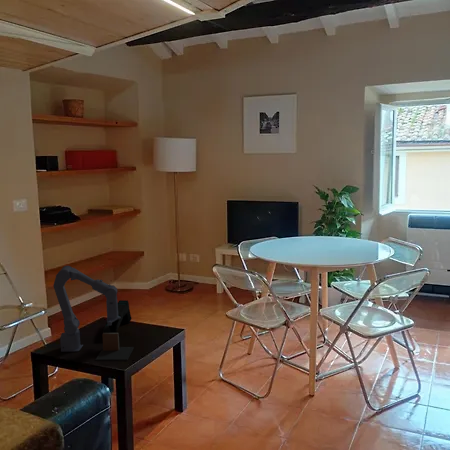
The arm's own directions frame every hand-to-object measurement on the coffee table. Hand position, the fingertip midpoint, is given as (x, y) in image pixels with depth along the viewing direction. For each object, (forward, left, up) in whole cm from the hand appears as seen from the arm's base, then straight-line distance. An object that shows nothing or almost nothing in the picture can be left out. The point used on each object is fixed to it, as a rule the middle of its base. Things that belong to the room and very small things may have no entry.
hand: (113, 333), depth 254 cm
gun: (-4, +24, -7) cm, 25 cm away
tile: (0, -6, -6) cm, 9 cm away
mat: (+3, -10, -7) cm, 12 cm away
